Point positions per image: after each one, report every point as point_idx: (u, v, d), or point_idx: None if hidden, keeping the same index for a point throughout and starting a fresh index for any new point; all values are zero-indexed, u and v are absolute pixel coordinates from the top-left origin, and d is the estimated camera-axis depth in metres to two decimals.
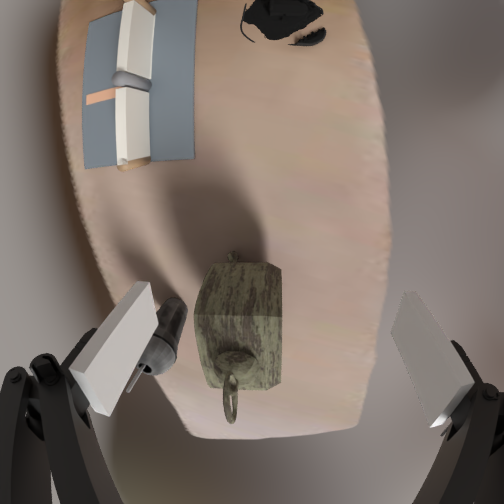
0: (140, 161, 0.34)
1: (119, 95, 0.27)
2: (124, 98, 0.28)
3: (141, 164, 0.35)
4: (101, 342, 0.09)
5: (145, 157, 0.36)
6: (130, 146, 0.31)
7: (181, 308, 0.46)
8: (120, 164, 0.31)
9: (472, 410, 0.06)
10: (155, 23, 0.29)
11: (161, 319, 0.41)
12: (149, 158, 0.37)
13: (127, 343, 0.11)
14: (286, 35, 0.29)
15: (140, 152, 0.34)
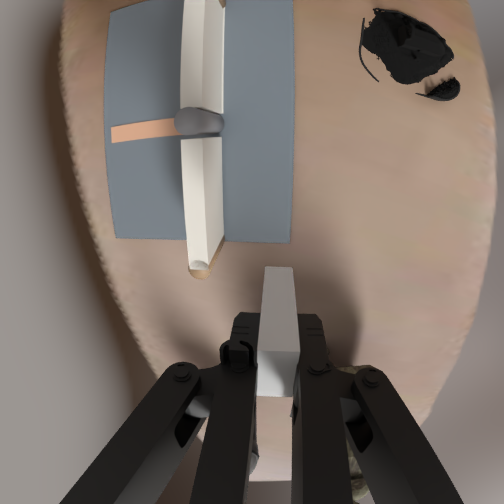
0: (218, 253, 0.25)
1: (188, 152, 0.18)
2: (199, 159, 0.19)
3: None
4: (274, 321, 0.11)
5: (221, 241, 0.27)
6: (210, 239, 0.22)
7: None
8: (195, 269, 0.22)
9: (300, 393, 0.08)
10: (225, 22, 0.19)
11: None
12: (223, 240, 0.28)
13: None
14: (417, 80, 0.20)
15: (217, 238, 0.25)
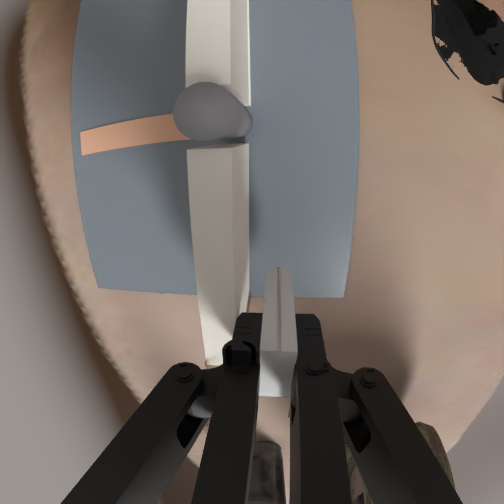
0: None
1: (203, 175, 0.09)
2: (225, 191, 0.10)
3: None
4: (276, 321, 0.11)
5: (247, 304, 0.18)
6: None
7: (278, 456, 0.28)
8: (217, 365, 0.13)
9: (297, 393, 0.08)
10: None
11: (264, 486, 0.23)
12: None
13: None
14: (494, 81, 0.11)
15: (244, 306, 0.16)
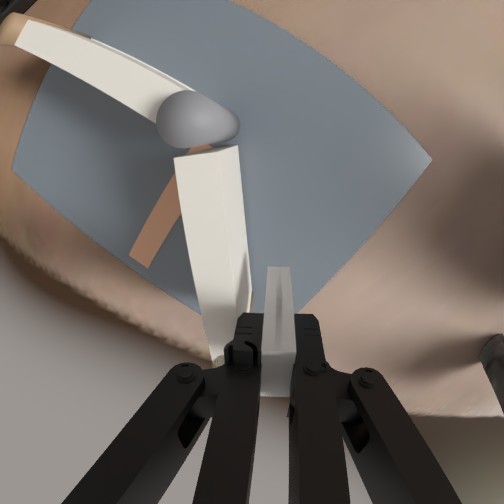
0: None
1: (191, 180, 0.10)
2: (214, 194, 0.10)
3: None
4: (277, 321, 0.11)
5: (251, 304, 0.18)
6: None
7: None
8: None
9: (296, 393, 0.08)
10: (108, 43, 0.13)
11: None
12: (253, 298, 0.19)
13: None
14: None
15: (247, 306, 0.16)
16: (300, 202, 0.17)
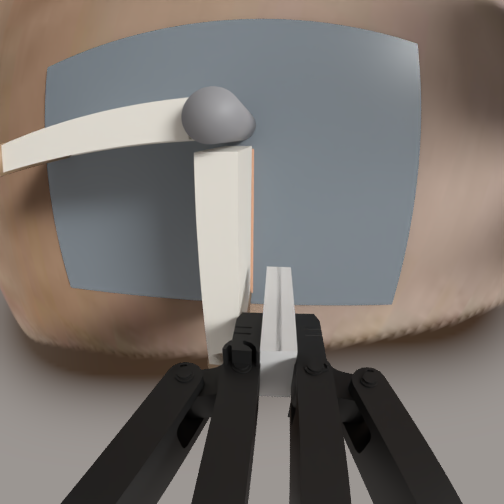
0: None
1: (209, 177, 0.10)
2: (231, 193, 0.10)
3: None
4: (276, 321, 0.11)
5: (248, 305, 0.18)
6: None
7: None
8: (219, 364, 0.13)
9: (297, 393, 0.08)
10: None
11: None
12: (250, 299, 0.19)
13: None
14: None
15: (246, 306, 0.16)
16: (347, 147, 0.16)
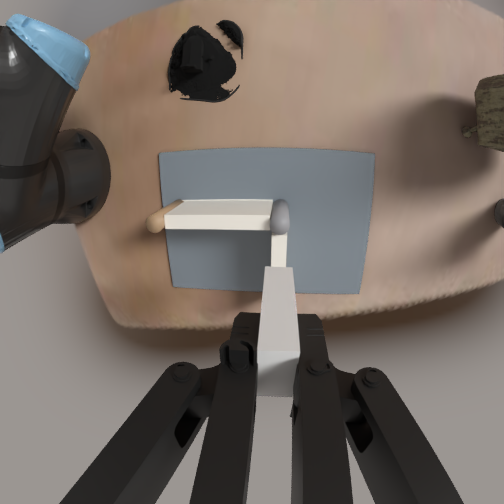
0: None
1: (277, 243, 0.29)
2: (284, 249, 0.29)
3: None
4: (274, 321, 0.11)
5: None
6: None
7: None
8: None
9: (300, 392, 0.08)
10: (196, 198, 0.36)
11: None
12: None
13: None
14: (229, 56, 0.28)
15: None
16: (332, 216, 0.35)
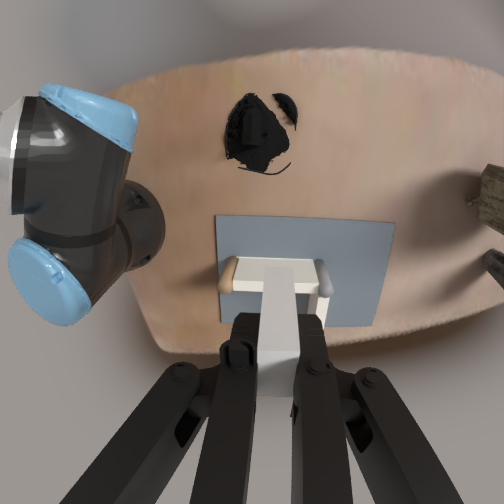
0: None
1: (321, 302, 0.37)
2: (326, 305, 0.38)
3: None
4: (274, 321, 0.11)
5: None
6: None
7: (493, 254, 0.37)
8: None
9: (300, 393, 0.08)
10: (248, 256, 0.44)
11: (502, 273, 0.34)
12: None
13: None
14: (284, 131, 0.36)
15: None
16: (357, 271, 0.43)
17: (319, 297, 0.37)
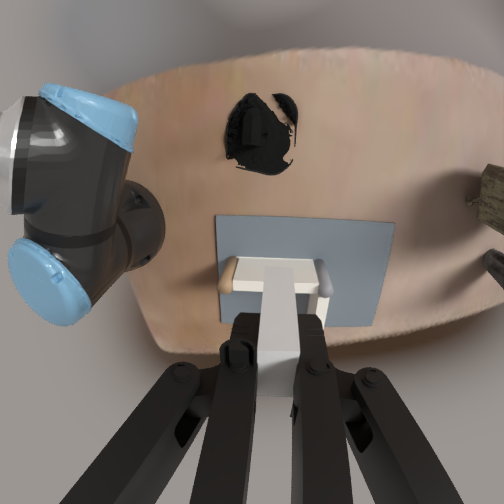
0: None
1: (321, 302, 0.37)
2: (326, 305, 0.38)
3: None
4: (274, 321, 0.11)
5: None
6: None
7: (493, 254, 0.37)
8: None
9: (300, 392, 0.08)
10: (248, 256, 0.44)
11: (502, 273, 0.34)
12: None
13: None
14: (284, 131, 0.36)
15: None
16: (357, 271, 0.43)
17: (319, 297, 0.37)
